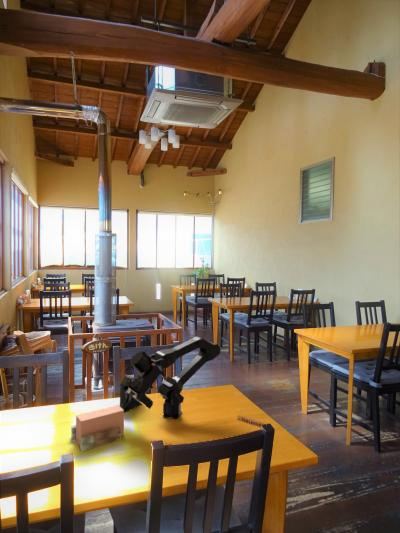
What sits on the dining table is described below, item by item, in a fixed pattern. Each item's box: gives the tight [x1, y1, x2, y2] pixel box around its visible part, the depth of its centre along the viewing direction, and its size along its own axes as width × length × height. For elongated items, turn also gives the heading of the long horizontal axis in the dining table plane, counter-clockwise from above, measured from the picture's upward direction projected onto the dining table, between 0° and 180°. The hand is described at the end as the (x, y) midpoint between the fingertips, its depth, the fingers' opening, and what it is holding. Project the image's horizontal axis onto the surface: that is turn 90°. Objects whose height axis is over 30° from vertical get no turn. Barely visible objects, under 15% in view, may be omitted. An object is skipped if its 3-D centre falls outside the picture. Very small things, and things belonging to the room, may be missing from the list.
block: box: [75, 404, 125, 446], centre depth 134 cm, size 16×6×9 cm, turn 125°
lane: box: [70, 424, 121, 452], centre depth 133 cm, size 14×12×4 cm
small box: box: [119, 386, 135, 411], centre depth 162 cm, size 11×6×10 cm, turn 168°
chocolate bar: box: [236, 414, 267, 428], centre depth 147 cm, size 3×12×2 cm, turn 57°
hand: (121, 413), depth 139 cm, fingers closed, pressing on block
